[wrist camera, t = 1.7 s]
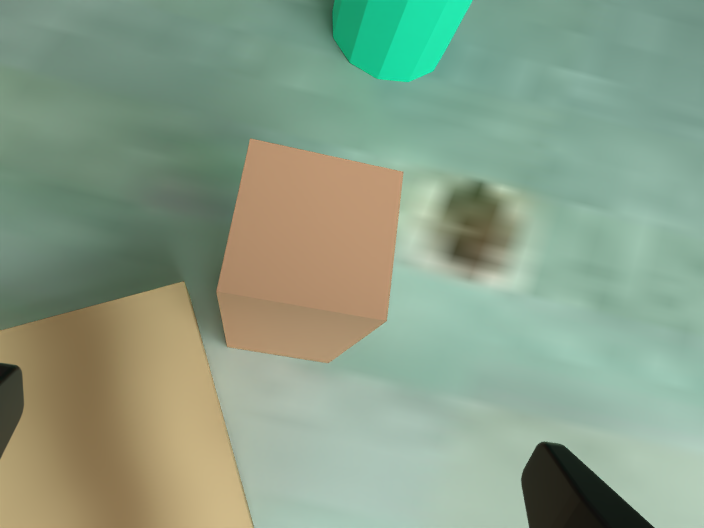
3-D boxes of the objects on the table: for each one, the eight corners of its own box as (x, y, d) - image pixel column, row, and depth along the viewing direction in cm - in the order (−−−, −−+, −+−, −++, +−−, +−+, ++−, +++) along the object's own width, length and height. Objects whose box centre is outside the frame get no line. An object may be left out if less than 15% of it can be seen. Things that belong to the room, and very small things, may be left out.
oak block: (-23, 642, 17) (-66, 678, 14) (-68, 368, 18) (-112, 360, 16) (254, 527, 19) (256, 542, 17) (190, 297, 21) (183, 281, 19)
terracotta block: (328, 363, 21) (386, 320, 12) (227, 347, 20) (216, 291, 12) (341, 268, 22) (403, 172, 14) (247, 250, 22) (250, 138, 13)
